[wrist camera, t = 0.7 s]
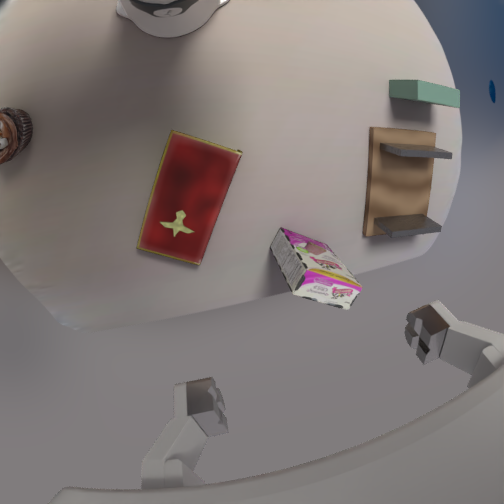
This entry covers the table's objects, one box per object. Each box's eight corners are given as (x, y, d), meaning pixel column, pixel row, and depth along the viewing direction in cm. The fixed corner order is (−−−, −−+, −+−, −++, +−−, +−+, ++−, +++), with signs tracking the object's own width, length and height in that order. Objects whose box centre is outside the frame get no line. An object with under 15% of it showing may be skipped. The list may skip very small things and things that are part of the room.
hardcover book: (240, 150, 51) (244, 154, 47) (200, 255, 59) (201, 266, 55) (173, 128, 47) (171, 130, 43) (139, 238, 55) (136, 249, 51)
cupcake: (45, 128, 42) (17, 136, 33) (16, 166, 43) (-13, 181, 34) (18, 94, 37) (-12, 97, 29) (-9, 133, 39) (-40, 143, 30)
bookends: (379, 142, 52) (401, 149, 46) (430, 145, 53) (452, 153, 47) (373, 223, 59) (391, 237, 53) (421, 218, 61) (440, 231, 55)
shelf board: (369, 126, 52) (373, 127, 50) (431, 132, 54) (435, 133, 52) (362, 233, 62) (365, 236, 60) (420, 227, 64) (424, 229, 62)
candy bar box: (327, 243, 61) (364, 287, 47) (316, 263, 63) (348, 312, 49) (279, 224, 58) (307, 268, 44) (268, 247, 60) (291, 297, 45)
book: (389, 79, 48) (417, 79, 40) (430, 87, 49) (460, 90, 41) (389, 97, 49) (417, 99, 41) (430, 103, 51) (460, 108, 43)
